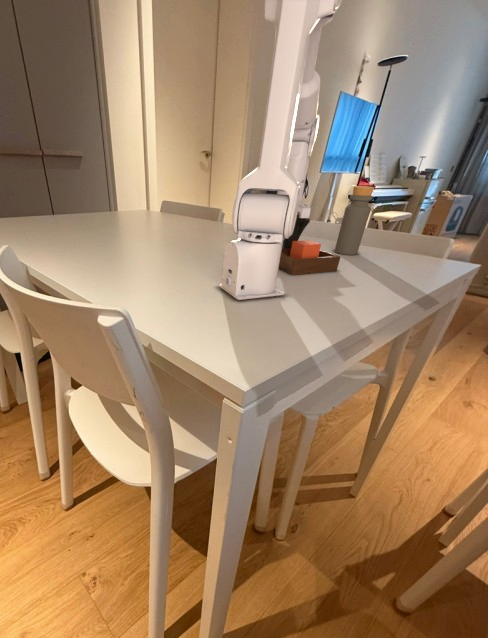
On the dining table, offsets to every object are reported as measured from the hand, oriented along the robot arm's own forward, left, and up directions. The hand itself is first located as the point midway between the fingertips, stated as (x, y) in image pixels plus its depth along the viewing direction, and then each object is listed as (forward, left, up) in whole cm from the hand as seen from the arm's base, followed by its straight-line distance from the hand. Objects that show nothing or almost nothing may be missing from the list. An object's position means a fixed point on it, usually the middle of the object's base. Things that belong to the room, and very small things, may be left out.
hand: (280, 247), depth 83 cm
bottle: (+21, 0, -3) cm, 21 cm away
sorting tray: (0, -5, -2) cm, 5 cm away
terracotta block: (0, -9, -2) cm, 10 cm away
